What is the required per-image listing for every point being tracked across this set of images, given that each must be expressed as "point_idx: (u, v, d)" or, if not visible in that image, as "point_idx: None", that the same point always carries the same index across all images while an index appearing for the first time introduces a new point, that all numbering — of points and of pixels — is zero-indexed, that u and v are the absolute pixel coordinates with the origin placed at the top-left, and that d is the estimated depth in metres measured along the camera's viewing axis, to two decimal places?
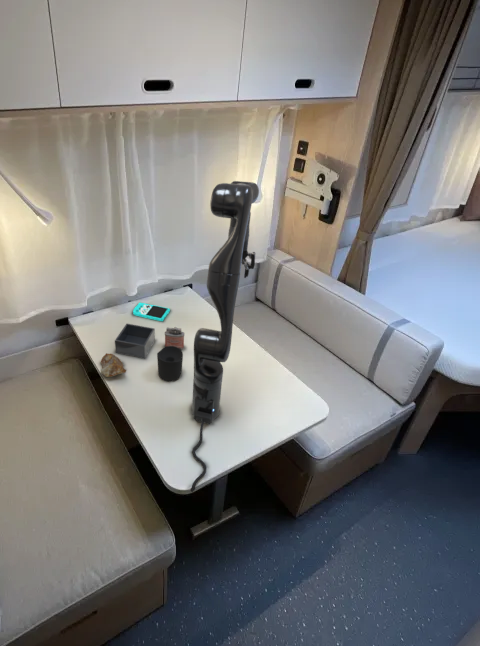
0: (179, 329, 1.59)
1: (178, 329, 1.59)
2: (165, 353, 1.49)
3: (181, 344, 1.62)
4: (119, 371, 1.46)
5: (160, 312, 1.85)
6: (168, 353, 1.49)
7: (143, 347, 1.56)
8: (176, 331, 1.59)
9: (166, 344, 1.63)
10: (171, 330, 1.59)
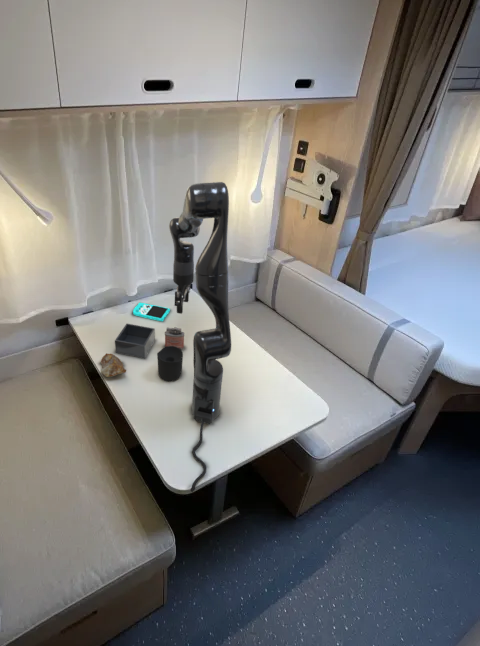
0: (179, 329, 1.59)
1: (178, 329, 1.59)
2: (165, 353, 1.49)
3: (181, 344, 1.62)
4: (119, 371, 1.46)
5: (160, 312, 1.85)
6: (168, 353, 1.49)
7: (143, 347, 1.56)
8: (176, 331, 1.59)
9: (166, 344, 1.63)
10: (171, 330, 1.59)
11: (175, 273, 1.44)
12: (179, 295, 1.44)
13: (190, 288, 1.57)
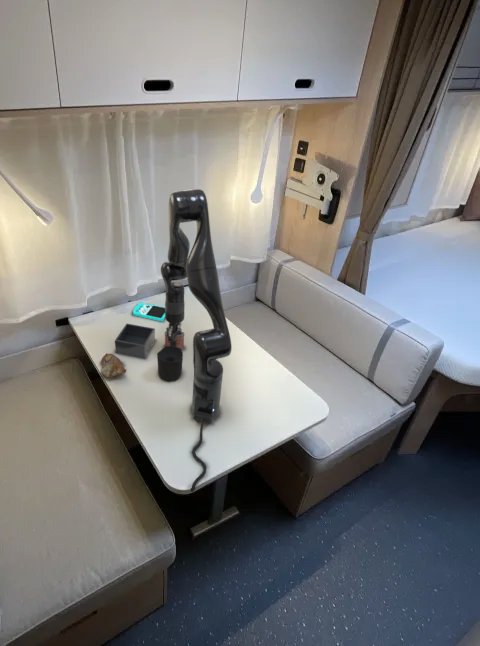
0: (179, 329, 1.59)
1: (178, 329, 1.59)
2: (165, 353, 1.49)
3: (181, 344, 1.62)
4: (119, 371, 1.46)
5: (160, 312, 1.85)
6: (168, 353, 1.49)
7: (143, 347, 1.56)
8: None
9: (166, 344, 1.63)
10: None
11: (167, 312, 1.52)
12: (171, 335, 1.53)
13: None
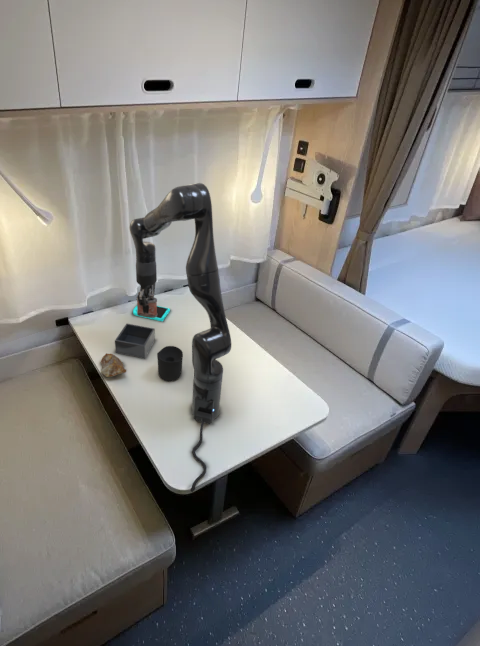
0: (151, 294, 1.51)
1: (150, 294, 1.51)
2: (165, 353, 1.49)
3: (153, 311, 1.54)
4: (119, 371, 1.46)
5: (160, 312, 1.85)
6: (168, 353, 1.49)
7: (143, 347, 1.56)
8: None
9: (138, 310, 1.55)
10: None
11: (137, 273, 1.44)
12: (142, 298, 1.45)
13: (153, 293, 1.55)
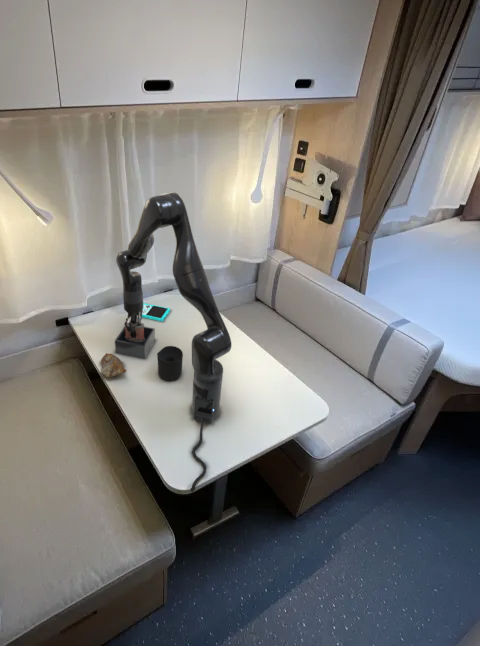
0: (138, 320, 1.57)
1: (137, 320, 1.57)
2: (165, 353, 1.49)
3: (141, 336, 1.60)
4: (119, 371, 1.46)
5: (160, 312, 1.85)
6: (168, 353, 1.49)
7: (143, 347, 1.56)
8: None
9: (126, 335, 1.61)
10: None
11: (124, 301, 1.50)
12: (129, 325, 1.52)
13: (141, 318, 1.62)
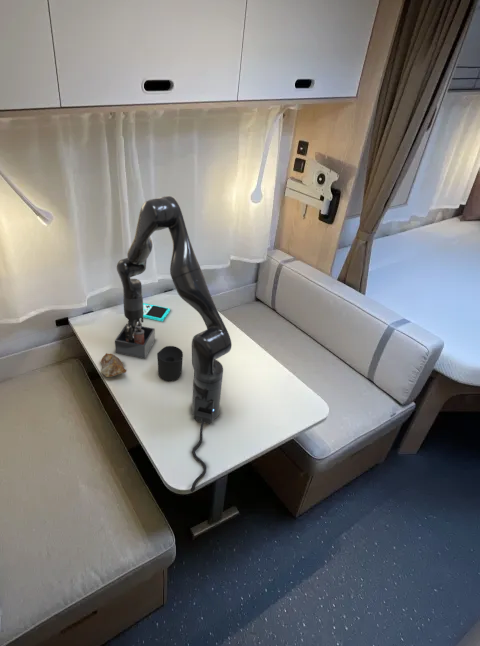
0: (138, 327, 1.59)
1: (137, 327, 1.59)
2: (165, 353, 1.49)
3: (141, 342, 1.62)
4: (119, 371, 1.46)
5: (160, 312, 1.85)
6: (168, 353, 1.49)
7: (143, 347, 1.56)
8: None
9: (127, 341, 1.63)
10: None
11: (125, 308, 1.52)
12: (129, 330, 1.52)
13: (142, 321, 1.64)
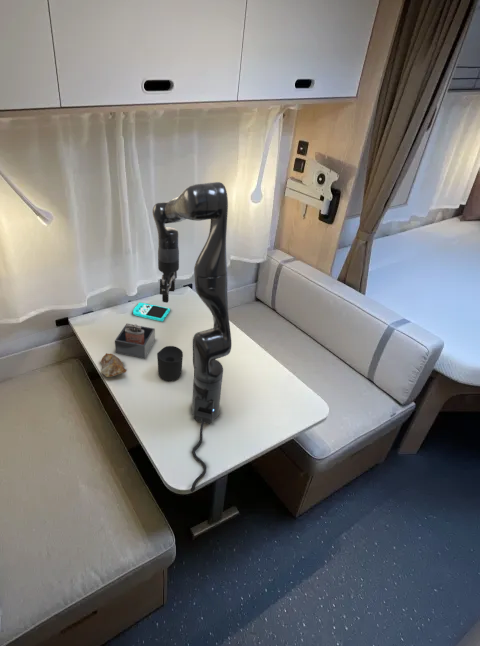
0: (138, 327, 1.59)
1: (137, 327, 1.59)
2: (165, 353, 1.49)
3: (141, 342, 1.62)
4: (119, 371, 1.46)
5: (160, 312, 1.85)
6: (168, 353, 1.49)
7: (143, 347, 1.56)
8: (135, 328, 1.59)
9: (127, 341, 1.63)
10: (131, 327, 1.59)
11: (160, 260, 1.41)
12: (164, 283, 1.40)
13: (176, 277, 1.53)
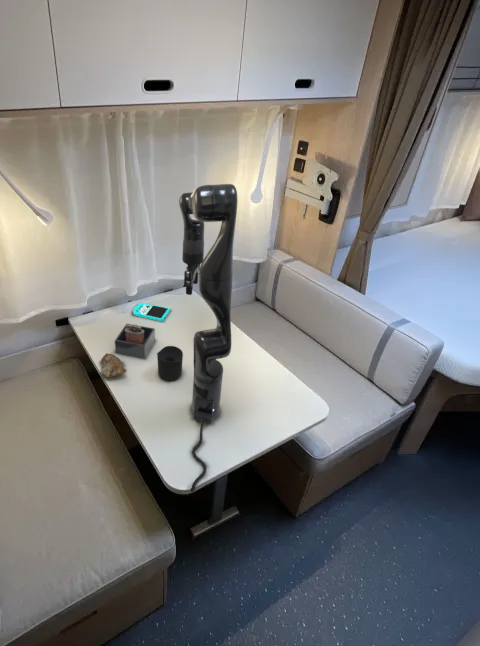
0: (138, 327, 1.59)
1: (137, 327, 1.59)
2: (165, 353, 1.49)
3: (141, 342, 1.62)
4: (119, 371, 1.46)
5: (160, 312, 1.85)
6: (168, 353, 1.49)
7: (143, 347, 1.56)
8: (135, 328, 1.59)
9: (127, 341, 1.63)
10: (131, 327, 1.59)
11: (185, 252, 1.39)
12: (189, 275, 1.39)
13: None
